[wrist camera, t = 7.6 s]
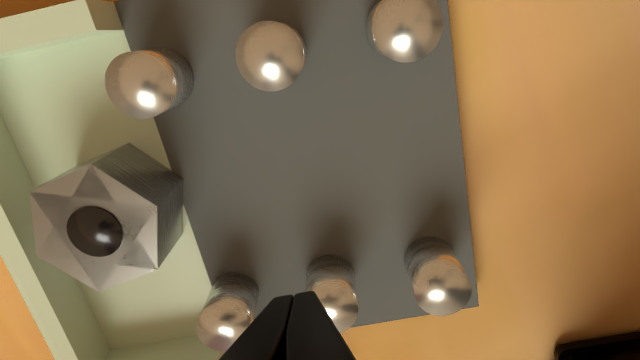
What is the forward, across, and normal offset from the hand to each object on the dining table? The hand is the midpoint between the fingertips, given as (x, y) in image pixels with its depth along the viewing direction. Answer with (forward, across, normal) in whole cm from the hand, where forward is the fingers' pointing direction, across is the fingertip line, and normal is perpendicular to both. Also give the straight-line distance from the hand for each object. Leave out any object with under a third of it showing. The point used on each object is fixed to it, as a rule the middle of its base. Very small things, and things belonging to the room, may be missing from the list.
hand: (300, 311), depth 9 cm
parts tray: (+10, +9, 0) cm, 14 cm away
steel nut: (+10, +8, 0) cm, 12 cm away
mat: (+10, 0, 0) cm, 11 cm away
